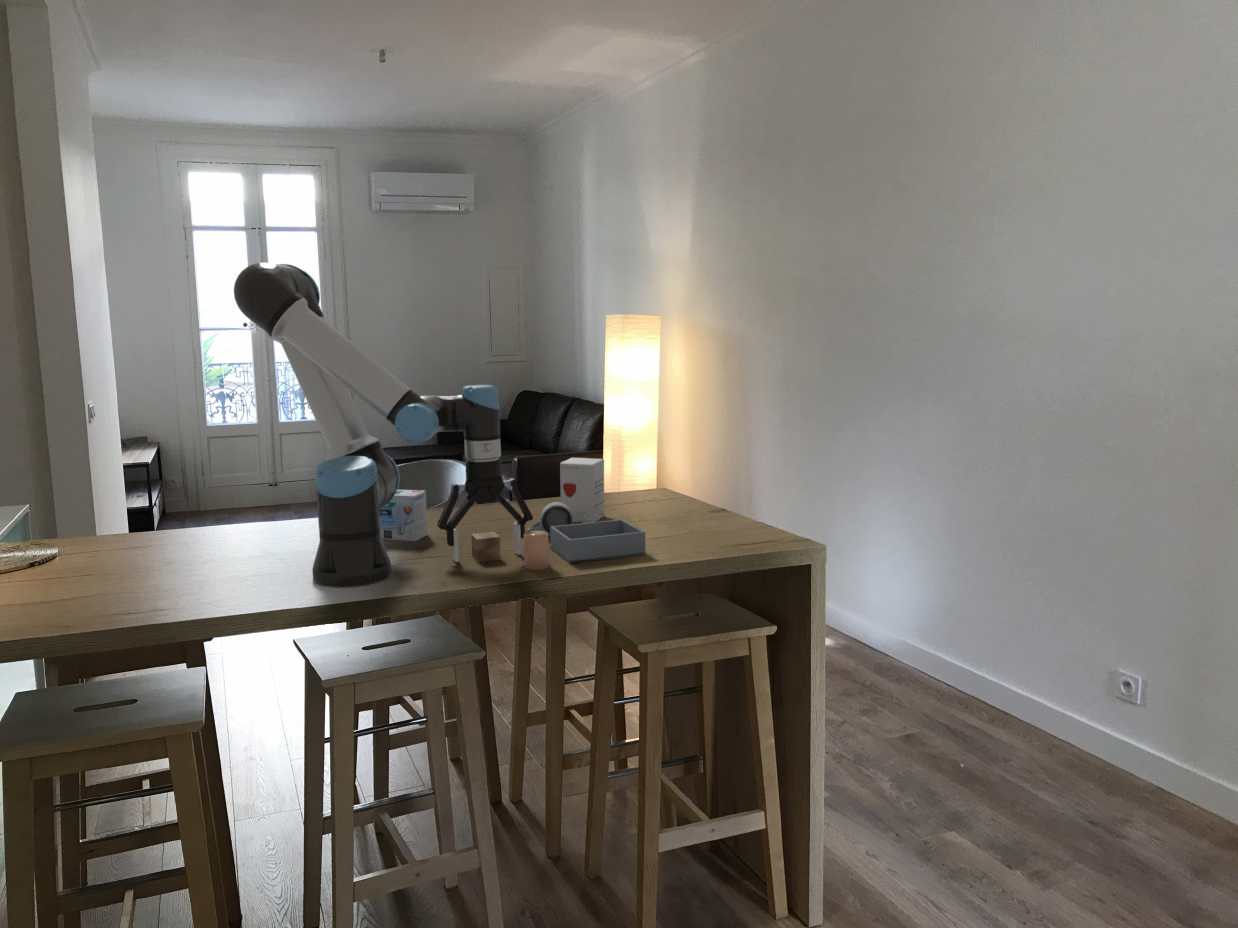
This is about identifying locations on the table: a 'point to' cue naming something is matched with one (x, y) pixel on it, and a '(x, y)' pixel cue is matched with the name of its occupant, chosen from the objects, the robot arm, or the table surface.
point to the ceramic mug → (553, 517)
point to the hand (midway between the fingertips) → (487, 556)
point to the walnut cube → (485, 546)
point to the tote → (597, 540)
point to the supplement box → (583, 488)
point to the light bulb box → (404, 516)
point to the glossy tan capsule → (536, 550)
